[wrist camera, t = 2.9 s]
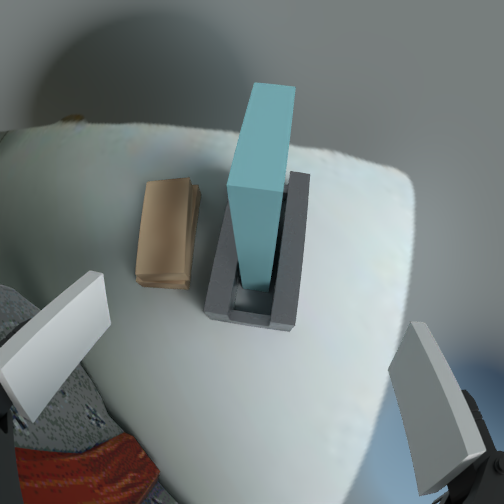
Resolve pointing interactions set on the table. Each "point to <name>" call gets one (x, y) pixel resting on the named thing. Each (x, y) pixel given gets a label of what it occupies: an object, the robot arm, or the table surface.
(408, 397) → the robot arm
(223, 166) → the table surface
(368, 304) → the table surface
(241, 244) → the teal board
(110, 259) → the table surface
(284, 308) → the board rack
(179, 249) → the block
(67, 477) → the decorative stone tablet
